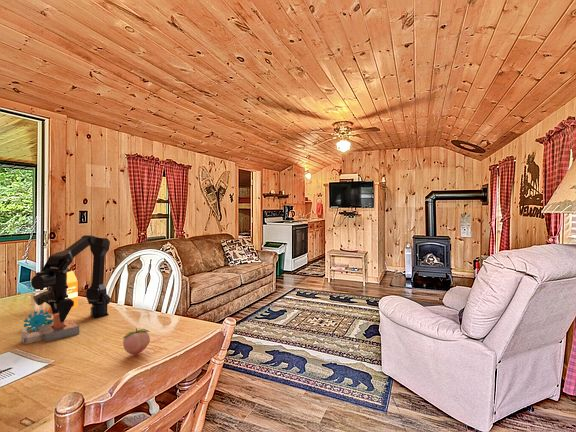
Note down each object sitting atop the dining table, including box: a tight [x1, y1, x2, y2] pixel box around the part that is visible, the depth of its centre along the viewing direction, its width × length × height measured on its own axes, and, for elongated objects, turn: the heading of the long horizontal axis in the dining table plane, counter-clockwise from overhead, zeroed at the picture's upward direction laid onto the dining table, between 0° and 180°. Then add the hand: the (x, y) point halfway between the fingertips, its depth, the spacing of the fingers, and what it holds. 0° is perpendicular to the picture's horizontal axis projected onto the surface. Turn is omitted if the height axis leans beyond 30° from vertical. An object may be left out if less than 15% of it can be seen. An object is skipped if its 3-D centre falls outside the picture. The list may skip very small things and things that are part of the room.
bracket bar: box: [21, 328, 43, 346], centre depth 128 cm, size 6×4×5 cm, turn 141°
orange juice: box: [65, 270, 79, 310], centre depth 169 cm, size 8×9×20 cm
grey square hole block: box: [36, 319, 80, 343], centre depth 136 cm, size 12×12×4 cm
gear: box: [23, 309, 53, 333], centre depth 142 cm, size 11×6×10 cm
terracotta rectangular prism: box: [52, 313, 64, 329], centre depth 135 cm, size 3×3×9 cm
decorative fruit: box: [122, 328, 151, 356], centre depth 119 cm, size 9×8×10 cm
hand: (58, 319), depth 135 cm, fingers open, 9 cm apart
